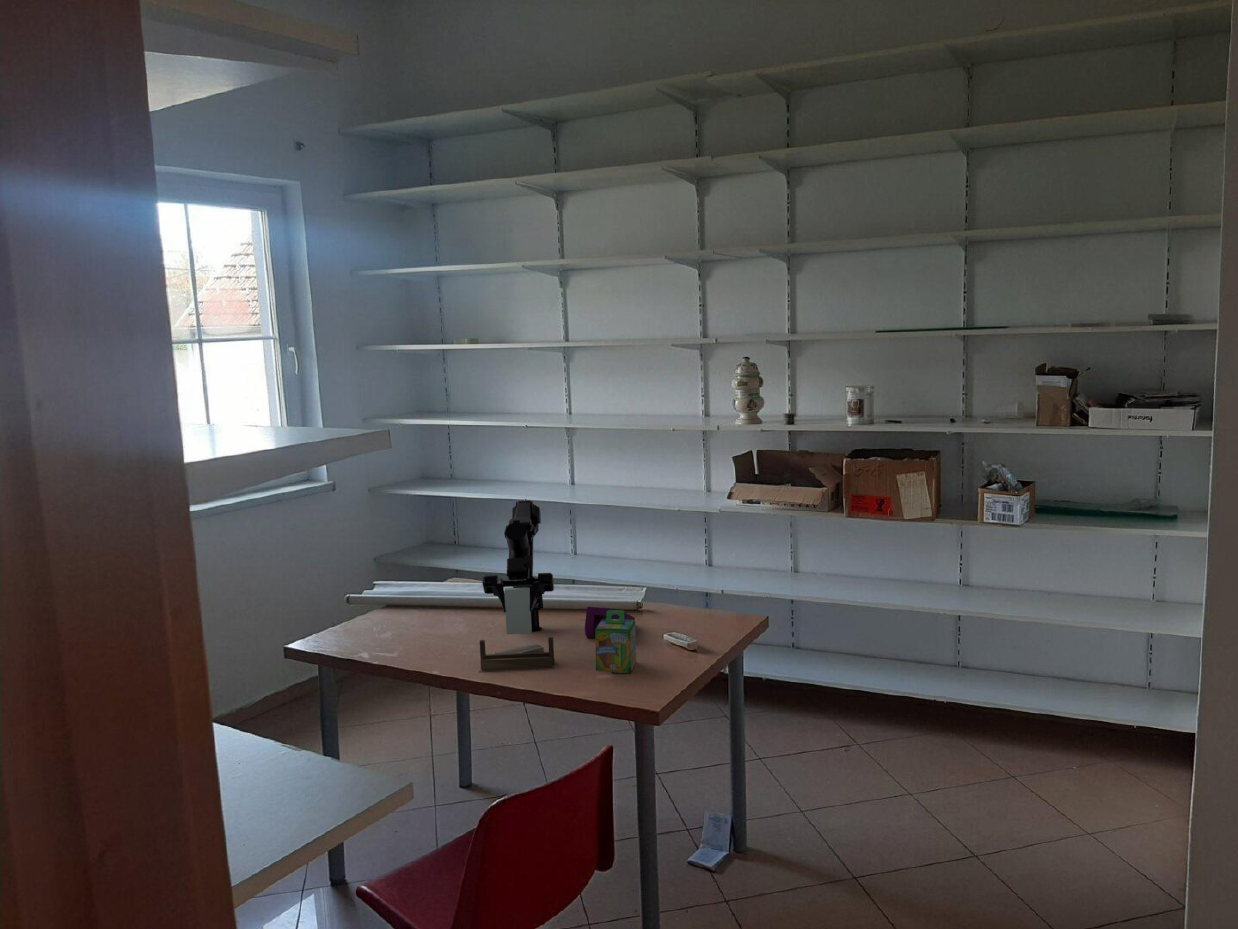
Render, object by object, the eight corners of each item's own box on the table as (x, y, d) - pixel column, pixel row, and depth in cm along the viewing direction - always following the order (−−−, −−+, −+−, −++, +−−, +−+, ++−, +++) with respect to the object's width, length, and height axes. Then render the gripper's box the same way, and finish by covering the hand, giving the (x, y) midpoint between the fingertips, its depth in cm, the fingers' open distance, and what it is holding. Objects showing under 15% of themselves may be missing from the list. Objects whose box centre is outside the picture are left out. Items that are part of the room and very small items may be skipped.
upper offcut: (495, 658, 244) (495, 652, 244) (534, 648, 251) (533, 642, 251) (505, 663, 240) (504, 657, 240) (543, 653, 247) (543, 647, 247)
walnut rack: (482, 664, 242) (481, 636, 241) (555, 661, 242) (554, 633, 241) (479, 675, 234) (477, 645, 233) (554, 672, 234) (552, 642, 233)
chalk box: (595, 673, 232) (593, 616, 231) (602, 661, 241) (600, 606, 240) (631, 674, 231) (629, 616, 229) (637, 662, 240) (635, 606, 238)
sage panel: (507, 632, 246) (505, 588, 244) (531, 631, 246) (529, 587, 244) (506, 634, 244) (504, 590, 242) (531, 633, 244) (529, 589, 242)
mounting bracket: (605, 646, 273) (583, 636, 257) (609, 617, 275) (587, 606, 259) (635, 648, 269) (614, 639, 253) (639, 620, 272) (618, 609, 256)
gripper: (481, 546, 245) (478, 597, 236) (551, 543, 246) (551, 594, 236) (486, 567, 254) (483, 618, 245) (553, 565, 255) (553, 615, 245)
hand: (517, 611), depth 242 cm, fingers closed on sage panel, 6 cm apart
